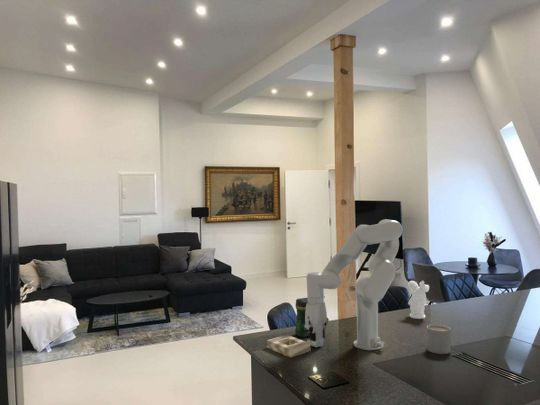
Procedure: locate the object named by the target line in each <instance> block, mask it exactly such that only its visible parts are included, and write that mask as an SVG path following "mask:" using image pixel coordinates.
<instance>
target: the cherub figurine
mask: <svg viewBox="0 0 540 405" xmlns="http://www.w3.org/2000/svg"><path fill="white" fill-rule="evenodd" d="M407 287H408V289H409V290H410V291H411V292H410V293H411V297H410V298H409V301H408V303H407V305H409V307H410V314H409V317H410V318H411V319H418V320H422V319H423V320H424V319H426V314H425V307H426V306H425V305H426V304H427V303H428V298H427V294H426V293H428V292H429V290H430V285H429V284H425V281H424V280H421V281H420V282H419V283H417V281H415V280H410V281H408V283H407Z"/></svg>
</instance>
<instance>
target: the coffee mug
mask: <svg viewBox="0 0 540 405" xmlns="http://www.w3.org/2000/svg"><path fill="white" fill-rule="evenodd" d="M451 332H452V330H451V327H449V326H447V325H443V324H429V325H427V326H426V350H427V351H428V352H431V353H433V354H439V355H447V354H450V353H451V352H452V351H451V350H452V349H451V347H452V346H451V343H452V342H451V340H452V339H451V338H452V336H451Z"/></svg>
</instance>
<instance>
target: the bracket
mask: <svg viewBox="0 0 540 405" xmlns="http://www.w3.org/2000/svg"><path fill="white" fill-rule="evenodd" d="M312 328H313V327H312ZM315 333H316V341H315V342H314V341H311V340H310V338H309V339H307V341H306V342H308V343H310V347H314V348H318V347H321V346H323V345H324V338H323V325H322V324H320V325H317V326H315Z"/></svg>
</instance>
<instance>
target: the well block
mask: <svg viewBox="0 0 540 405" xmlns="http://www.w3.org/2000/svg"><path fill="white" fill-rule="evenodd" d="M311 347H312V346H311V345H310V343H308V342H307V341H305V340H302V339H299V338H297V337H294V336H291V335H288V334H284V335H281V336H277V337H274V338H271V339H267V349H270V350H271V351H273V352H276V353H279V354H281V355H283V356H286V357H288V358H294V357H296V356H297V357H298V356H301V355H303V354H306V352H307V353H310V352H311ZM309 351H310V352H309Z"/></svg>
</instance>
